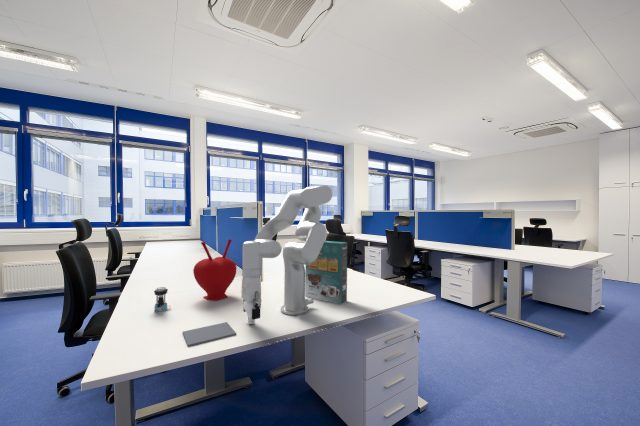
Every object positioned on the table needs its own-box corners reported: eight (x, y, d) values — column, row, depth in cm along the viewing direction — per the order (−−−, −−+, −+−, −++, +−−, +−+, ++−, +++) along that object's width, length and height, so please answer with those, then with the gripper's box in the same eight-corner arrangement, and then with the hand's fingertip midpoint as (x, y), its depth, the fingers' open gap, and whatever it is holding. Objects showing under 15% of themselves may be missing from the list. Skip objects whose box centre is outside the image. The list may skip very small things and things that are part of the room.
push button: (171, 307, 126) (171, 285, 126) (170, 311, 121) (170, 288, 121) (154, 309, 123) (155, 287, 123) (152, 313, 118) (153, 290, 118)
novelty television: (226, 290, 153) (226, 238, 153) (240, 294, 146) (241, 239, 146) (190, 299, 136) (191, 240, 136) (204, 305, 129) (205, 242, 129)
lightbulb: (251, 328, 103) (251, 300, 103) (239, 325, 106) (240, 297, 106) (262, 323, 108) (263, 296, 108) (251, 319, 112) (251, 293, 112)
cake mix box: (346, 300, 137) (347, 242, 138) (341, 304, 132) (341, 243, 132) (311, 293, 149) (312, 239, 149) (305, 296, 144) (305, 240, 144)
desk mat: (226, 323, 108) (226, 321, 108) (236, 334, 98) (236, 333, 98) (182, 333, 99) (182, 331, 99) (187, 346, 89) (187, 344, 89)
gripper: (235, 269, 112) (235, 310, 112) (250, 277, 98) (250, 324, 98) (253, 267, 117) (252, 306, 117) (269, 275, 102) (269, 319, 102)
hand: (251, 314), depth 107 cm, fingers open, 9 cm apart
